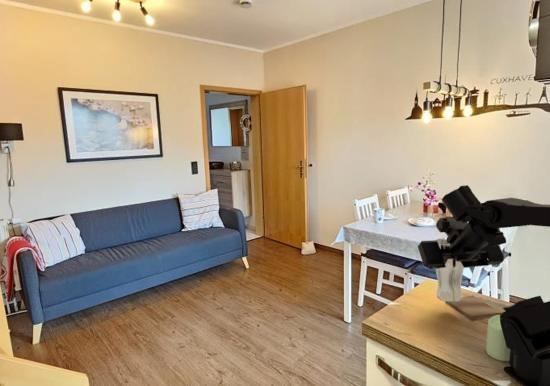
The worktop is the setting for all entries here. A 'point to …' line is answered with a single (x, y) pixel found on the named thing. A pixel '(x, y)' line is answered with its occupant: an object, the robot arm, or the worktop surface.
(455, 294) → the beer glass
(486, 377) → the worktop surface
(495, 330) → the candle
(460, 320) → the worktop surface
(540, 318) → the robot arm
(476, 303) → the walnut board
